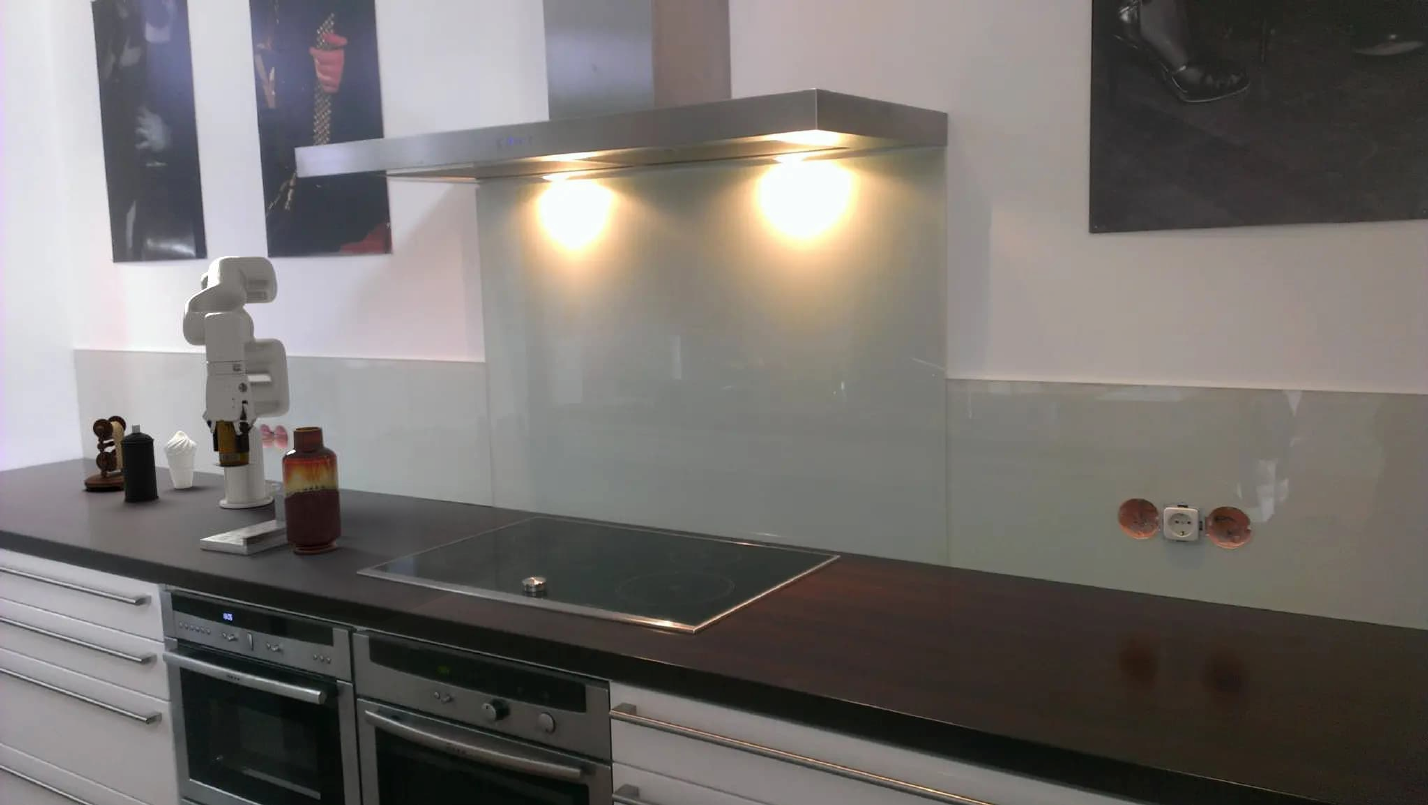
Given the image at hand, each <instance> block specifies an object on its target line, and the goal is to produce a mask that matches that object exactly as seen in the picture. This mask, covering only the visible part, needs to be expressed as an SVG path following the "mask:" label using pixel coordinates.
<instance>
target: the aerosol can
mask: <svg viewBox="0 0 1428 805" xmlns="http://www.w3.org/2000/svg"><path fill="white" fill-rule="evenodd" d="M154 441H155V438H152V436H151V435H149V434H147V433H143V432H141V425H140V424H138V423H137V424H132V425H131V432H130V433H129V434H125V437H124V438H123V439H122V440H121V441H120V442H119V443H120V444H121V454H122V467H123V479H124V490H123V492H124V499H123V501H124V502H125V503H143V502H144V503H145V502H149V501H150V500H151V501H154V500H157V499H159V497H160V496H159V494H158V485H157V483H158V482H157V473H156V472H157V470H156V458H155V446H154Z"/></svg>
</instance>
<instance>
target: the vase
mask: <svg viewBox="0 0 1428 805" xmlns="http://www.w3.org/2000/svg"><path fill="white" fill-rule="evenodd" d="M292 430H293V431H292V432H293V434H292V435H293V448H292V449H290V450H289V451H287V452H285V454H284V455H283V456H282V459H281V469H282V470H281V472H282V486H283V487H282V488H283V494H284V506H285V521H286V533H287V540H288V541H289V543H291V544H294V546H293V547H292V550H291V551H292V552H293V553H294V554H297V555H318V554H324V553H330V552H332V551H335V550H337V549H338V544H337V543H336V542H335V541H336V540H338V539H339V538H340V537H341V535H342V520H341V518H342V517H341V516H342V515H341V502H340V499H341V498H340V483H339V481H340V480H339V468H338V466H339V464H338V456H337V454H336V453H335V452H334V450H333V449H331V448H329V447H326V446H325V444H324V434H323V433H324V432H323V427H321V426H304V427H296V428H294V429H292Z"/></svg>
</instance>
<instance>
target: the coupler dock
mask: <svg viewBox="0 0 1428 805" xmlns="http://www.w3.org/2000/svg"><path fill="white" fill-rule="evenodd" d="M273 496H274V499H273V500H274V509H275V510H274V511H275V519H271V520H269V521H264V522H259V523H257V524H253V525H249V526H246V527H242V528H238V529H235V530H230V531H226V532H223V533H219V534H215V535H212V536H211V535H210V536H208V537H203V538H201V539H199V546H200V547H199V549H201V550H209V551H216V552H224V553H230V554H238V555H246V556H247V555H251V554H254V553H258V552H262V551H266V550H268V549H272V548H275V546H276V547H279V546H282V545H286V544H289V543H290V542H289V541H288V540H287V533H286V521H285V506H284V492H283V493H281V492H278V493H274V494H273Z"/></svg>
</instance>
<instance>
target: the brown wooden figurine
mask: <svg viewBox="0 0 1428 805" xmlns="http://www.w3.org/2000/svg"><path fill="white" fill-rule="evenodd" d="M126 429H127V422H126V420H125V419H124V418H123V417H121V416H119V415H112V416H110V417H109V418H107V419H106V418H99V419H97V420H96V421H94V422H93V425H92V432H93V434H94V435H95V436H96V437H97V441H98V443H97V445H96V448H97V450H98V452H100V453H98V454H97V456H96V458H95V463H96V466H97V468H98V469H99V470H101V471H100V473H97V474H94V475H91V476H89V477H88V478H87V479H85V480H83V482H84V483H83V485H84V486H85V489H86V490H87V491H88V492H89V491H91V488H111V487H119V489H120V490H121V491H124V479H123V467H122V454H121V444H120V443H119V442H120V441H121V440H122V439H123V438H124V437H125V436H126V434H125V431H126ZM110 447H111V448H113V447H114V448H113V449H112V450H110V452H109V451H107V450H106V449H108V448H110Z"/></svg>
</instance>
